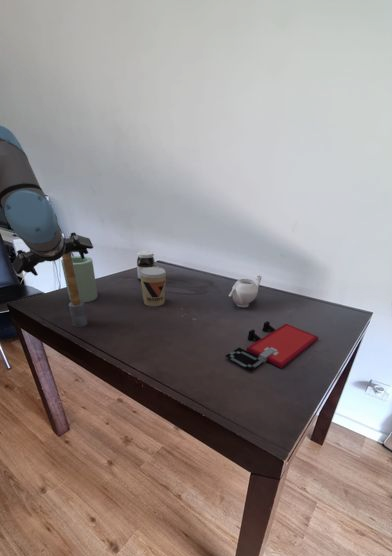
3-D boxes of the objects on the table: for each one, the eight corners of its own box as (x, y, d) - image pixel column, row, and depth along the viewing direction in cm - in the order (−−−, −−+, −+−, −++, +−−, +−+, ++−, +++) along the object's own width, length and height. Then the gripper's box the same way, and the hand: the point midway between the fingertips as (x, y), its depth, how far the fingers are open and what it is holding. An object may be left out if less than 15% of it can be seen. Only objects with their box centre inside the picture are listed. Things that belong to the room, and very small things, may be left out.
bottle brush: (70, 326, 88) (52, 246, 75) (77, 320, 92) (61, 243, 79) (83, 328, 88) (67, 248, 75) (90, 321, 91) (76, 244, 78)
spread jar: (139, 275, 132) (137, 249, 125) (163, 276, 132) (163, 250, 126) (136, 284, 122) (134, 256, 115) (162, 285, 122) (162, 257, 116)
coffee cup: (143, 308, 102) (141, 275, 95) (140, 298, 109) (138, 267, 103) (168, 306, 104) (168, 274, 98) (164, 296, 112) (163, 266, 105)
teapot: (216, 308, 104) (218, 284, 99) (246, 294, 117) (250, 272, 112) (238, 316, 99) (241, 291, 94) (267, 301, 112) (271, 278, 107)
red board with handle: (219, 355, 77) (266, 382, 69) (220, 347, 76) (268, 373, 68) (275, 323, 96) (317, 340, 88) (276, 315, 95) (319, 332, 87)
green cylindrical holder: (63, 300, 104) (55, 262, 97) (78, 290, 113) (71, 255, 105) (89, 303, 103) (82, 265, 95) (102, 293, 111) (97, 257, 104)
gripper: (-7, 277, 59) (20, 291, 79) (107, 238, 65) (105, 260, 86) (-26, 242, 57) (6, 265, 77) (92, 206, 64) (93, 235, 84)
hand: (58, 262), depth 81 cm, fingers open, 13 cm apart
